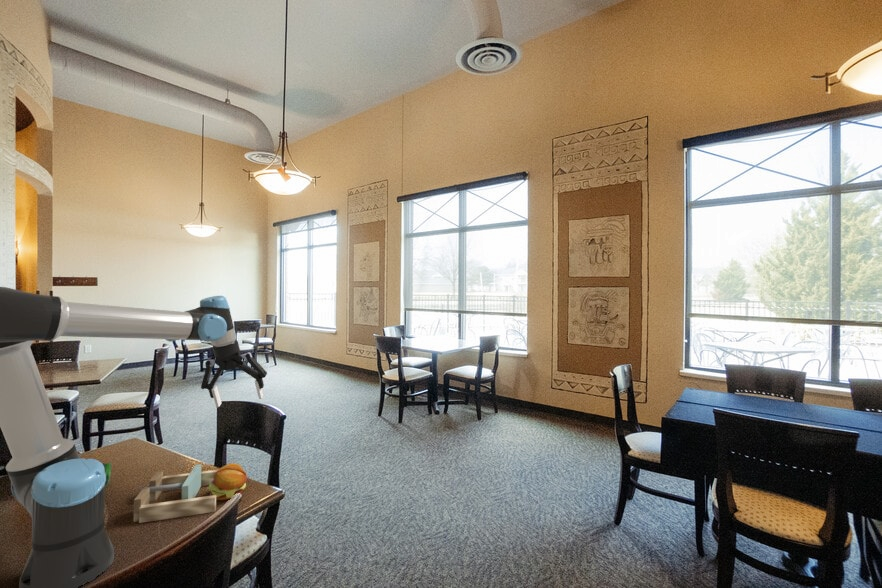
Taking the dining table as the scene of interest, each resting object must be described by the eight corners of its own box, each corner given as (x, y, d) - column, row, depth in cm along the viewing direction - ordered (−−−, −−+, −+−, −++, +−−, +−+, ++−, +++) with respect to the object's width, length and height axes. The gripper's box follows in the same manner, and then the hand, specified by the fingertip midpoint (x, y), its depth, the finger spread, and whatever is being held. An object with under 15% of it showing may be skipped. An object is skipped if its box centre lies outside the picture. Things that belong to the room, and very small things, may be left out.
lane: (227, 480, 129) (228, 462, 129) (214, 511, 111) (215, 490, 111) (157, 489, 123) (158, 470, 123) (132, 524, 104) (132, 501, 104)
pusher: (201, 485, 124) (201, 464, 124) (188, 510, 111) (188, 485, 111) (149, 492, 120) (150, 470, 120) (129, 518, 106) (129, 493, 106)
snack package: (77, 499, 117) (77, 482, 117) (84, 478, 129) (85, 462, 129) (108, 492, 121) (108, 475, 121) (112, 472, 133) (113, 457, 133)
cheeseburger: (235, 481, 128) (239, 453, 127) (251, 499, 122) (256, 470, 121) (202, 493, 120) (206, 464, 119) (217, 513, 114) (222, 482, 113)
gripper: (267, 332, 133) (280, 389, 138) (188, 345, 129) (205, 403, 134) (261, 339, 126) (276, 398, 130) (178, 353, 122) (196, 414, 127)
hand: (240, 401), depth 132 cm, fingers open, 13 cm apart
